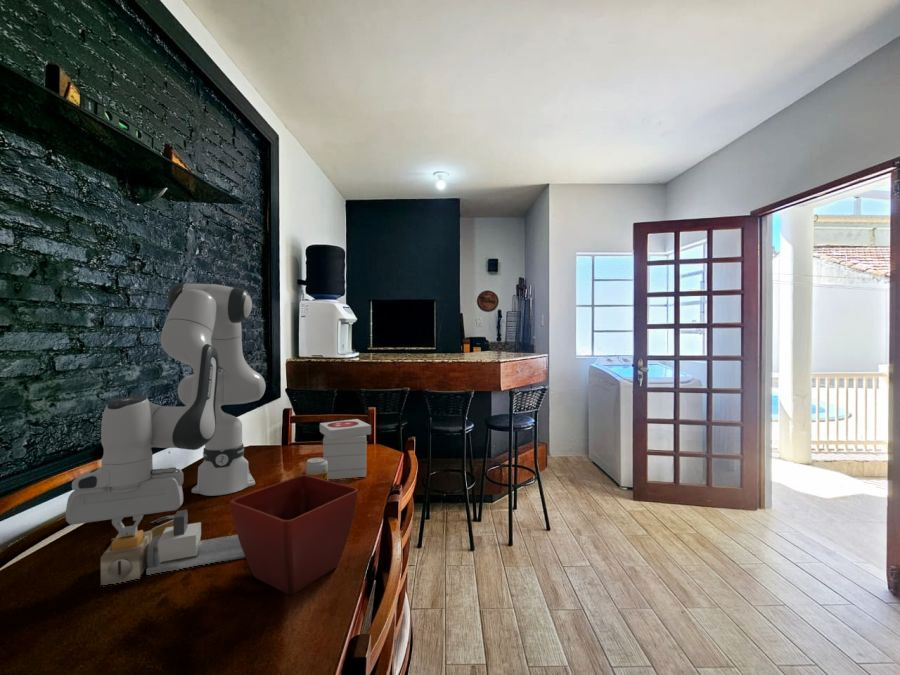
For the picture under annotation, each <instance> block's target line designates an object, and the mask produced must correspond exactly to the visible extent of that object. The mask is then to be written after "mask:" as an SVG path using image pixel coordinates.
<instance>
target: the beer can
mask: <svg viewBox="0 0 900 675" xmlns="http://www.w3.org/2000/svg"><path fill="white" fill-rule="evenodd" d="M305 475H308V476H312V477H315V478H319V479H323V480H327V481H329V480H328V462H327V460H326V458H323V457H321V456H318V457H312V458H309V459H307V460H306V464H305Z"/></svg>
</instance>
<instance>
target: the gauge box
mask: <svg viewBox="0 0 900 675" xmlns="http://www.w3.org/2000/svg"><path fill="white" fill-rule="evenodd" d="M151 542H152V531H149V530H147V531H143V540H142V542H141V543H140V545H139V546H137V547H131V548H125V549H119V550H113V551H112V543H110V545H109V546H108V547H107V549H106V550H105V551H104V552H103V554H102V555H101V556H100V586H101V585H108V584H114V585H117V584H116V583H119V584H122V583H121V582H124V583H127V582H126V581H130V580H135V579H139V580H140V579H141V578H142V576H143V574H144V572H145V571H146V569H147V567H148V547H149V545H150V543H151ZM146 566H147V567H146ZM145 568H146V569H145ZM144 570H145V571H144ZM141 575H142V576H141ZM140 577H141V578H140ZM135 581H136V580H135ZM130 582H131V581H130Z"/></svg>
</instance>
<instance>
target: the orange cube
mask: <svg viewBox="0 0 900 675" xmlns="http://www.w3.org/2000/svg"><path fill="white" fill-rule="evenodd" d="M143 532H144V530H143V529H140V530H137V534H136V536H131V537H124V538H119V533H118V534H117V535H116V537H114V538H115V539H114V540H113V542H112V541H111V544H112V551H113V550H119V549H125V548H131V547H137V546H139V545H140V543H141V542H142V540H143Z"/></svg>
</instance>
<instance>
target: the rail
mask: <svg viewBox="0 0 900 675" xmlns="http://www.w3.org/2000/svg"><path fill="white" fill-rule="evenodd" d="M159 539H160V535H157V536H155V537H154V538H153V540H152V542H151V543H150V545H149V547H148V565H147V567H146V569H145V571H146V574H145V575H150V576H152V575H151V574H155V573H160V574H162V573H161V572H166V571H171V572H174V571H173V570H176V571H180V570H179V569H182V570H184V569H183V568H187V569H190V568H189V567H192V568H194V567H193V566H198V565H203V566H206V565H205V564H208V565H211V564H210V563H214V564H216V563H215V562H219V563H222V562H221V561H224V562H229V560H230V561H235V560H240V559H246V557H245V555H244V552H243V550H242V547H241V544H240V541H239V538H238V535H237V534H232V535H227V536H220V537H215V538H209V539H202V540H200V541H199V542H198V554H197V556H191V557H185V558H180V559H174V560H169V561H163V562H160V555H158V541H159ZM198 567H199V566H198ZM166 573H167V572H166ZM155 575H156V574H155Z"/></svg>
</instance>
